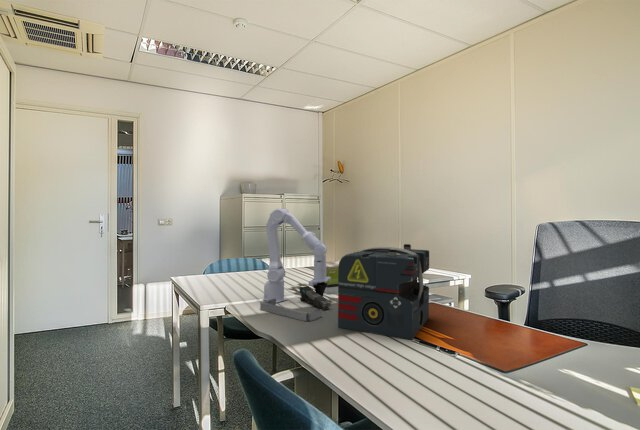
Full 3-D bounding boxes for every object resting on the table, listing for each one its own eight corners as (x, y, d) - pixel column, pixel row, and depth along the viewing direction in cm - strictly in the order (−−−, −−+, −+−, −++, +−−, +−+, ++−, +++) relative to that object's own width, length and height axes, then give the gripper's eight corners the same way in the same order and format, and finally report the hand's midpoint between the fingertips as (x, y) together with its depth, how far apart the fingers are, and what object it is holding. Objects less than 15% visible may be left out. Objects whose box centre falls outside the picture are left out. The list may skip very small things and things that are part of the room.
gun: (304, 298, 176) (308, 280, 173) (327, 322, 161) (332, 302, 158) (296, 299, 174) (300, 281, 171) (319, 324, 158) (323, 304, 155)
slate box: (258, 309, 158) (258, 302, 158) (273, 305, 165) (273, 298, 165) (308, 322, 141) (308, 314, 140) (322, 316, 148) (322, 309, 148)
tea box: (315, 288, 198) (315, 262, 198) (331, 287, 203) (331, 260, 202) (327, 294, 185) (327, 266, 185) (344, 293, 189) (344, 264, 189)
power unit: (337, 327, 134) (337, 247, 134) (364, 309, 159) (364, 241, 158) (412, 340, 121) (413, 251, 121) (429, 318, 146) (430, 244, 145)
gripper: (317, 272, 161) (317, 303, 161) (336, 268, 172) (335, 297, 173) (305, 271, 165) (304, 300, 165) (324, 267, 177) (324, 294, 177)
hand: (319, 298), depth 169 cm, fingers closed
